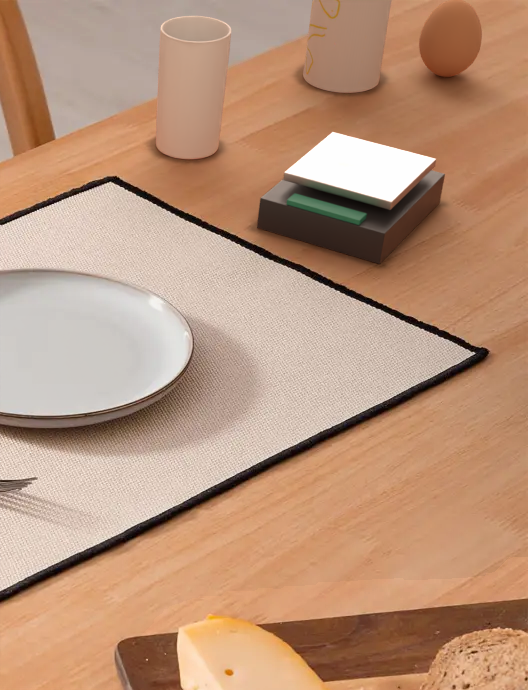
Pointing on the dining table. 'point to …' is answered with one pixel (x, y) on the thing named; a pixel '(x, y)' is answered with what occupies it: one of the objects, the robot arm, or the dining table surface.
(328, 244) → the scale
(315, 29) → the white cylinder
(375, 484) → the dining table surface
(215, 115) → the mug
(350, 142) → the scale pan
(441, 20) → the egg
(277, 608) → the dining table surface
